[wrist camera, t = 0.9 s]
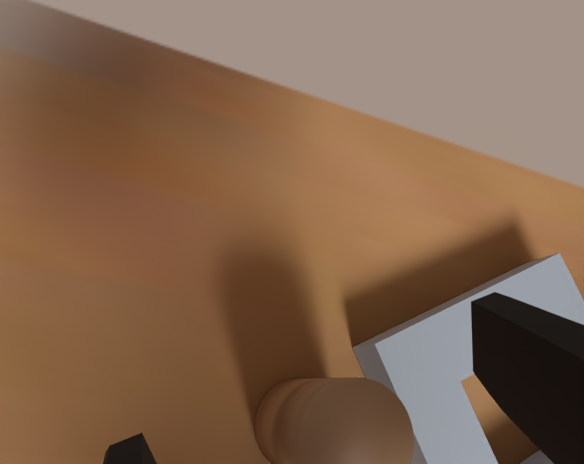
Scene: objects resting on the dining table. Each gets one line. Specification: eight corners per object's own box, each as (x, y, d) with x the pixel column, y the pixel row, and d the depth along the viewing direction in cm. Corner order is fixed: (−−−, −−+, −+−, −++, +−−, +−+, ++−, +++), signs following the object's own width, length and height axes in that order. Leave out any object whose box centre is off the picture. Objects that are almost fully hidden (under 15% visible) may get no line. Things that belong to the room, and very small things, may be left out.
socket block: (626, 465, 29) (670, 473, 26) (459, 593, 24) (494, 615, 22) (526, 262, 30) (559, 252, 28) (352, 347, 26) (374, 343, 24)
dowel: (351, 445, 25) (432, 468, 18) (275, 488, 23) (334, 530, 17) (317, 364, 25) (383, 358, 19) (240, 401, 24) (284, 409, 17)
